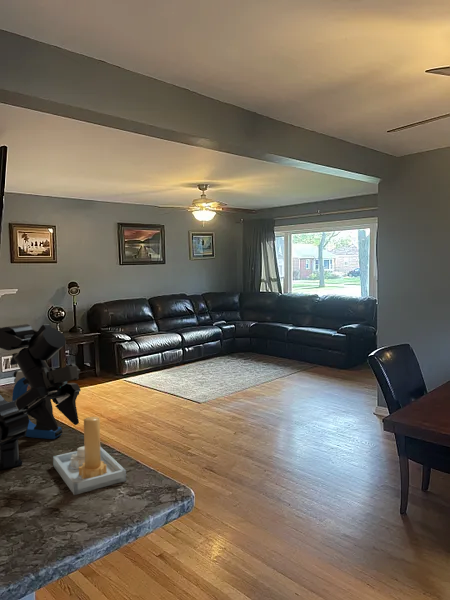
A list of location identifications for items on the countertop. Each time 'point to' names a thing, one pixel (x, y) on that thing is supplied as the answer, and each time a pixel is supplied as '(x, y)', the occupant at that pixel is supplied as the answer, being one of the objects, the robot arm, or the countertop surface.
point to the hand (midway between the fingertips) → (67, 427)
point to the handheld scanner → (32, 430)
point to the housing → (69, 472)
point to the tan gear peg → (92, 450)
